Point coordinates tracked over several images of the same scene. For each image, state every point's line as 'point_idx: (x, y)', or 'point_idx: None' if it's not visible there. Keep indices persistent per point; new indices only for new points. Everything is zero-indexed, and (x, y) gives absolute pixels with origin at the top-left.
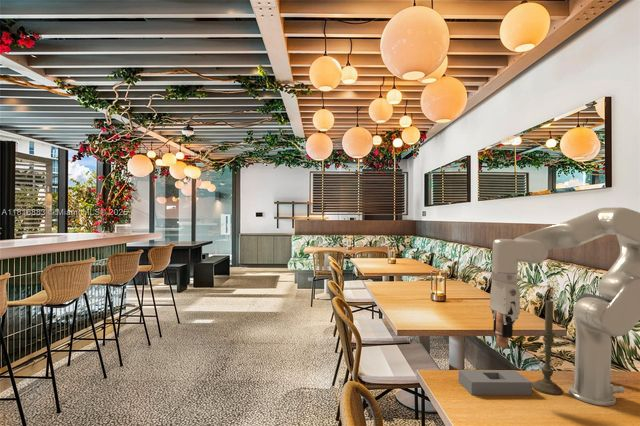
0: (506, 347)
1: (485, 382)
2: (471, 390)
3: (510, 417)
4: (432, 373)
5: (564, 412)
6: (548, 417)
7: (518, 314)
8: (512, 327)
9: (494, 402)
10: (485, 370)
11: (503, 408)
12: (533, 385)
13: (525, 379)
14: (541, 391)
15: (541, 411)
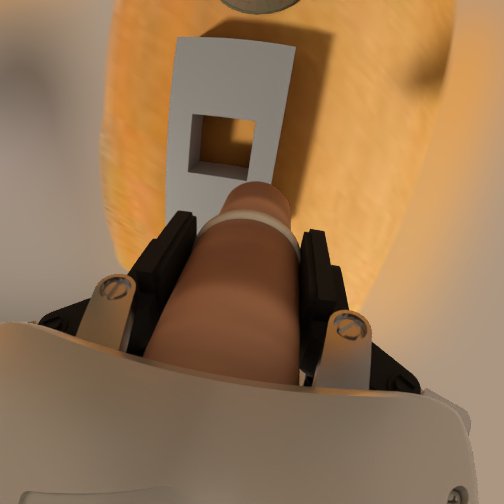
0: (289, 209)
1: None
2: None
3: (389, 218)
4: (131, 251)
5: (410, 59)
6: (420, 127)
7: (447, 414)
8: (331, 279)
9: (315, 201)
10: (170, 149)
11: (350, 202)
12: (243, 8)
13: (266, 51)
14: (282, 9)
15: (392, 115)
